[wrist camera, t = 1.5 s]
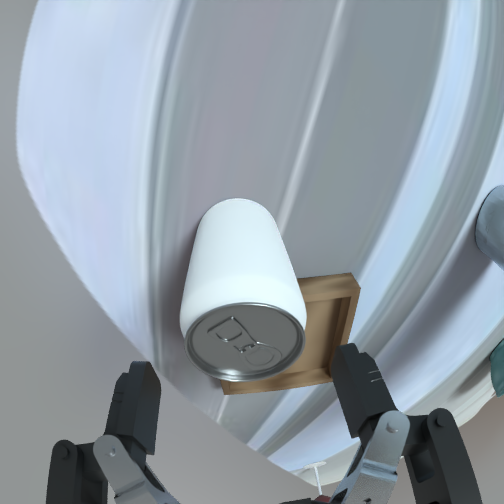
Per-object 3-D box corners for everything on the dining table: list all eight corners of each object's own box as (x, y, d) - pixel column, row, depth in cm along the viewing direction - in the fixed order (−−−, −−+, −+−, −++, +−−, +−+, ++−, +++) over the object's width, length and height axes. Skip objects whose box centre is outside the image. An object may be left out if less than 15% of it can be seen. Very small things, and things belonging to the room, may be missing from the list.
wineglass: (315, 461, 59) (326, 518, 42) (333, 461, 62) (345, 513, 45) (295, 468, 62) (304, 522, 44) (314, 468, 65) (324, 518, 47)
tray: (351, 272, 25) (360, 288, 23) (331, 366, 33) (335, 380, 31) (203, 286, 25) (201, 304, 23) (223, 378, 32) (224, 394, 30)
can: (231, 280, 25) (235, 398, 14) (181, 229, 22) (145, 341, 11) (291, 239, 23) (336, 349, 13) (244, 179, 20) (262, 266, 10)
